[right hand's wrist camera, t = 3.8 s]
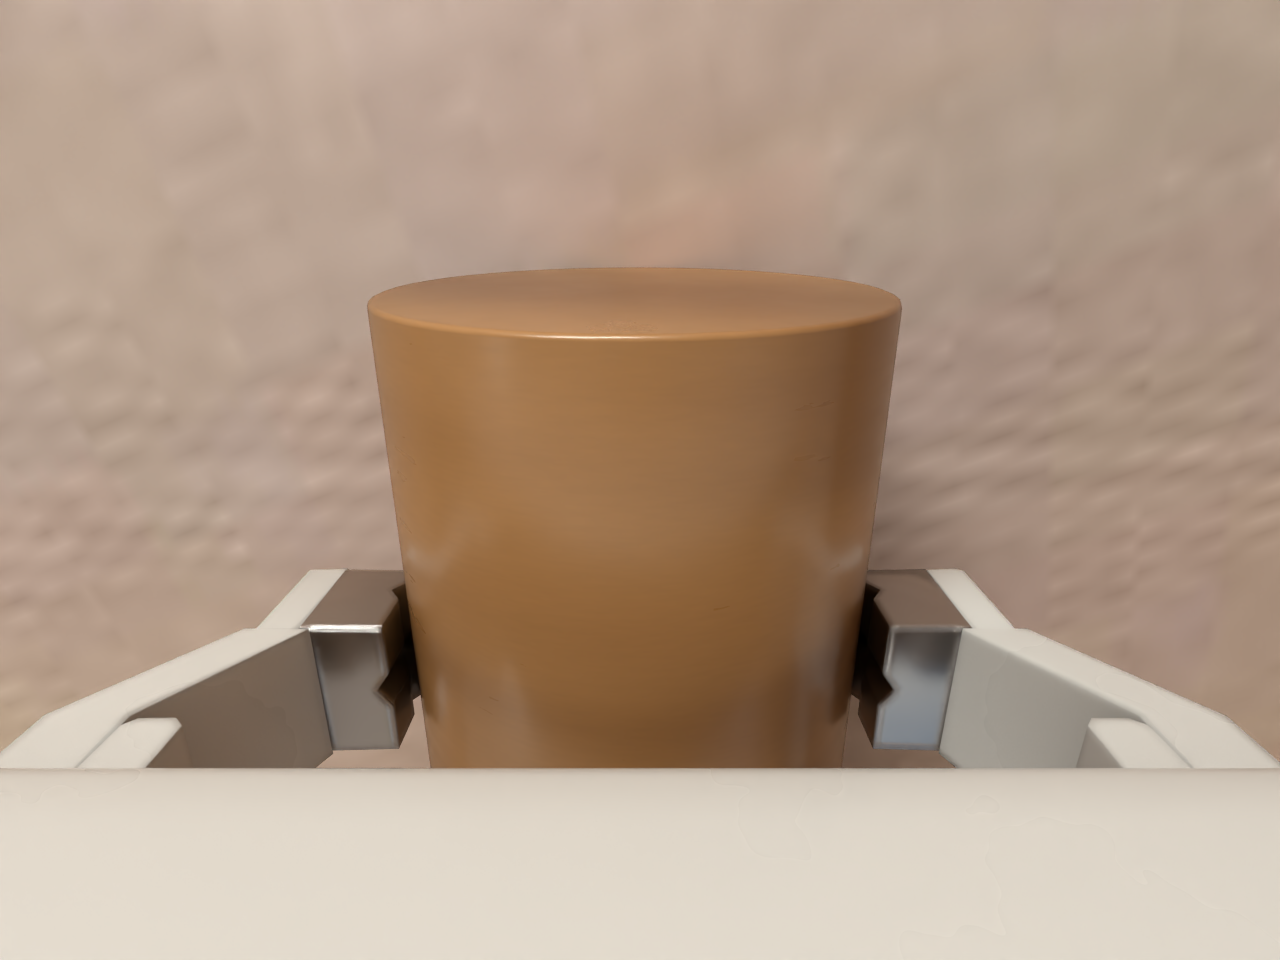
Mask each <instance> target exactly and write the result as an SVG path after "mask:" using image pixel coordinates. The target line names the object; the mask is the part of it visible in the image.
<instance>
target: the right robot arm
mask: <svg viewBox="0 0 1280 960" xmlns="http://www.w3.org/2000/svg"><path fill="white" fill-rule="evenodd" d="M851 694H852V695H853V696H855V697H856V698H858V699H859V700H860V702H859V710H858V715H859V718H860V720H861V722H862V724H863V727H864V729H865V731H866V733H867V736H868V738H869V740H870V743H871V745H872V747H873V749H905V750H939V754H940V755H942V756H943V757H944V758H945V759H946V760H948V761H949V762H950V763H951V764H953V765H954V766H955V767H956V768H316V767H317V766H318V765H320V764H321V763H322V762H323V761H324V760H326V759H327V758H328V757H329V756H331V755H332V754H333V751H332V750H366V749H399V747H400V745H401V743H402V741H403V738H404V736H405V734H406V732H407V729H408V727H409V725H410V723H411V721H412V718H413V716H414V707H413V699H415V698H416V697H418V696H419V695H421V693H420V686H419V679H418V672H417V664H416V657H415V650H414V643H413V635H412V628H411V621H410V614H409V607H408V599H407V592H406V585H405V578H404V570H355V569H352V570H349V569H317V570H309V571H308V572H307V573H306V575H305V576H304V577H303V578H302V579H301V580H300V581H299V582H298V583H297V584H296V585H295V587H294V588H293V589H292V590H291V591H290V592H289V593H288V594H287V595H286V596H285V597H284V599H283V600H282V601H281V602H280V603H279V604H278V605H277V606H276V607H275V608H274V609H273V611H272V612H271V613H270V614H269V615H268V616H267V617H266V618H265V619H264V620H263V621H262V623H261V624H260V625H259V626H258V627H257V628H256V629H242V630H240V631H238V632H235V633H233V634H231V635H228V636H226V637H224V638H221V639H219V640H217V641H214V642H212V643H210V644H207V645H205V646H203V647H200V648H198V649H196V650H194V651H191V652H189V653H187V654H184V655H182V656H180V657H177V658H175V659H173V660H170V661H168V662H166V663H163V664H161V665H159V666H157V667H154V668H152V669H150V670H147V671H145V672H143V673H140V674H138V675H136V676H133V677H131V678H129V679H126V680H124V681H122V682H119V683H117V684H115V685H113V686H110V687H108V688H106V689H103V690H101V691H99V692H96V693H94V694H92V695H89V696H87V697H85V698H82V699H80V700H78V701H75V702H73V703H71V704H69V705H66V706H64V707H62V708H59V709H57V710H55V711H52V712H50V713H48V714H45V715H44V716H42V717H41V718H40V719H39V720H38V721H37V722H35V723H34V724H33V725H32V726H31V727H30V728H28V729H27V730H26V731H25V732H24V733H22V734H21V735H20V736H19V737H18V738H17V739H15V740H14V741H13V742H12V743H11V744H10V745H8V746H7V747H6V748H5V749H4V750H3V751H1V752H0V960H1280V762H1279V761H1278V760H1276V759H1275V758H1274V757H1273V756H1272V755H1271V754H1270V753H1268V752H1267V751H1266V750H1265V749H1264V748H1263V747H1262V746H1260V745H1259V744H1258V743H1257V742H1256V741H1255V740H1254V739H1252V738H1251V737H1250V736H1249V735H1248V734H1247V733H1246V732H1244V731H1243V730H1242V729H1241V728H1240V727H1239V726H1238V725H1236V724H1235V723H1234V722H1233V721H1232V720H1231V719H1229V718H1228V717H1227V716H1225V715H1223V714H1221V713H1219V712H1216V711H1214V710H1212V709H1209V708H1207V707H1205V706H1203V705H1200V704H1198V703H1196V702H1193V701H1191V700H1189V699H1187V698H1184V697H1182V696H1180V695H1177V694H1175V693H1173V692H1171V691H1168V690H1166V689H1164V688H1161V687H1159V686H1157V685H1155V684H1152V683H1150V682H1148V681H1146V680H1143V679H1141V678H1139V677H1136V676H1134V675H1132V674H1130V673H1127V672H1125V671H1123V670H1120V669H1118V668H1116V667H1114V666H1111V665H1109V664H1107V663H1104V662H1102V661H1100V660H1098V659H1095V658H1093V657H1091V656H1088V655H1086V654H1084V653H1082V652H1079V651H1077V650H1075V649H1072V648H1070V647H1068V646H1066V645H1063V644H1061V643H1059V642H1056V641H1054V640H1052V639H1050V638H1047V637H1045V636H1043V635H1040V634H1038V633H1036V632H1034V631H1031V630H1029V629H1015V628H1014V627H1013V625H1012V624H1011V623H1010V622H1009V621H1008V620H1007V619H1006V618H1005V617H1004V615H1003V614H1002V613H1001V612H1000V611H999V610H998V609H997V608H996V606H995V605H994V604H993V603H992V602H991V601H990V600H989V599H988V598H987V596H986V595H985V594H984V593H983V592H982V591H981V590H980V589H979V588H978V586H977V585H976V584H975V583H974V582H973V581H972V580H971V579H970V577H969V576H968V575H967V574H966V573H965V572H964V571H962V570H959V569H956V568H955V569H933V570H926V569H909V570H867V577H866V585H865V592H864V600H863V608H862V615H861V623H860V630H859V638H858V645H857V653H856V661H855V668H854V676H853V683H852V691H851Z"/></svg>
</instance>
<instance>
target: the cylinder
mask: <svg viewBox="0 0 1280 960" xmlns="http://www.w3.org/2000/svg"><path fill="white" fill-rule="evenodd" d="M367 309H368V317H369V324H370V332H371V339H372V346H373V353H374V361H375V368H376V375H377V382H378V390H379V397H380V404H381V411H382V418H383V426H384V433H385V440H386V447H387V455H388V462H389V469H390V476H391V484H392V491H393V498H394V505H395V512H396V520H397V527H398V534H399V541H400V549H401V556H402V563H403V570H404V578H405V585H406V592H407V599H408V607H409V614H410V621H411V628H412V635H413V643H414V650H415V657H416V664H417V672H418V679H419V686H420V693H421V701H422V708H423V715H424V722H425V729H426V737H427V744H428V751H429V758H430V766H431V768H841V767H842V759H843V752H844V744H845V737H846V729H847V721H848V714H849V706H850V699H851V691H852V683H853V676H854V668H855V661H856V653H857V645H858V638H859V630H860V623H861V615H862V608H863V600H864V592H865V585H866V577H867V570H868V562H869V554H870V547H871V539H872V532H873V524H874V516H875V509H876V501H877V494H878V486H879V479H880V471H881V463H882V456H883V448H884V441H885V433H886V425H887V418H888V410H889V403H890V395H891V387H892V380H893V372H894V365H895V357H896V350H897V342H898V334H899V327H900V319H901V312H902V306H901V302H900V299H899V298H898V297H896V296H895V295H894V294H891V293H889V292H887V291H884V290H882V289H879V288H876V287H872V286H869V285H864V284H860V283H855V282H849V281H843V280H838V279H830V278H823V277H815V276H806V275H797V274H785V273H774V272H759V271H743V270H723V269H695V268H579V269H551V270H531V271H514V272H501V273H488V274H477V275H467V276H458V277H450V278H442V279H435V280H429V281H423V282H417V283H412V284H408V285H403V286H399V287H395V288H392V289H389V290H386V291H384V292H381V293H379V294H377V295H375V296H373V297H372V298H371V299H370V300H369V301H368V305H367Z"/></svg>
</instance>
